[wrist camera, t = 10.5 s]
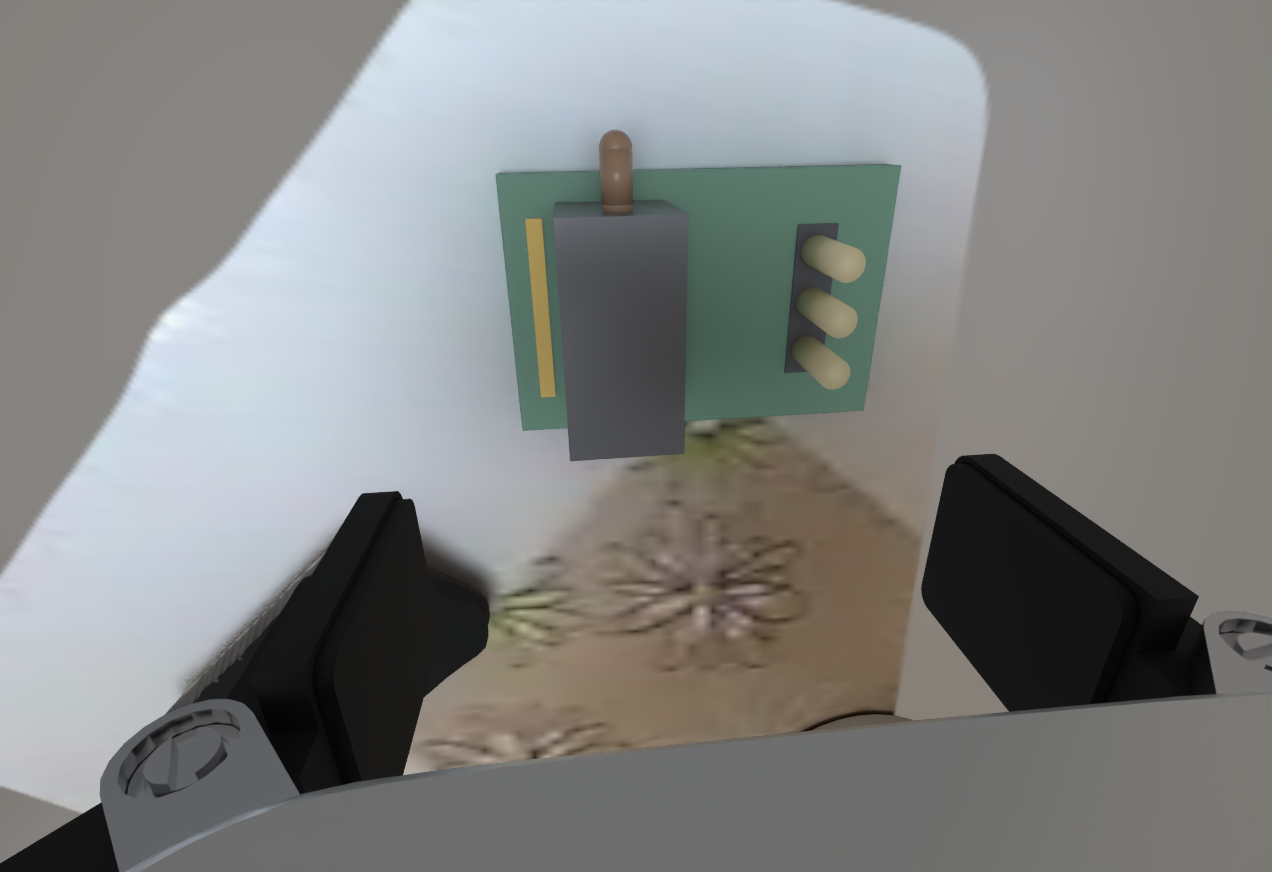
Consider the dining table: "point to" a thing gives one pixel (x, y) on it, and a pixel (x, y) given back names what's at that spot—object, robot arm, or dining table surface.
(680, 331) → the plug housing
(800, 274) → the header board
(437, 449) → the dining table surface
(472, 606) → the black sponge
